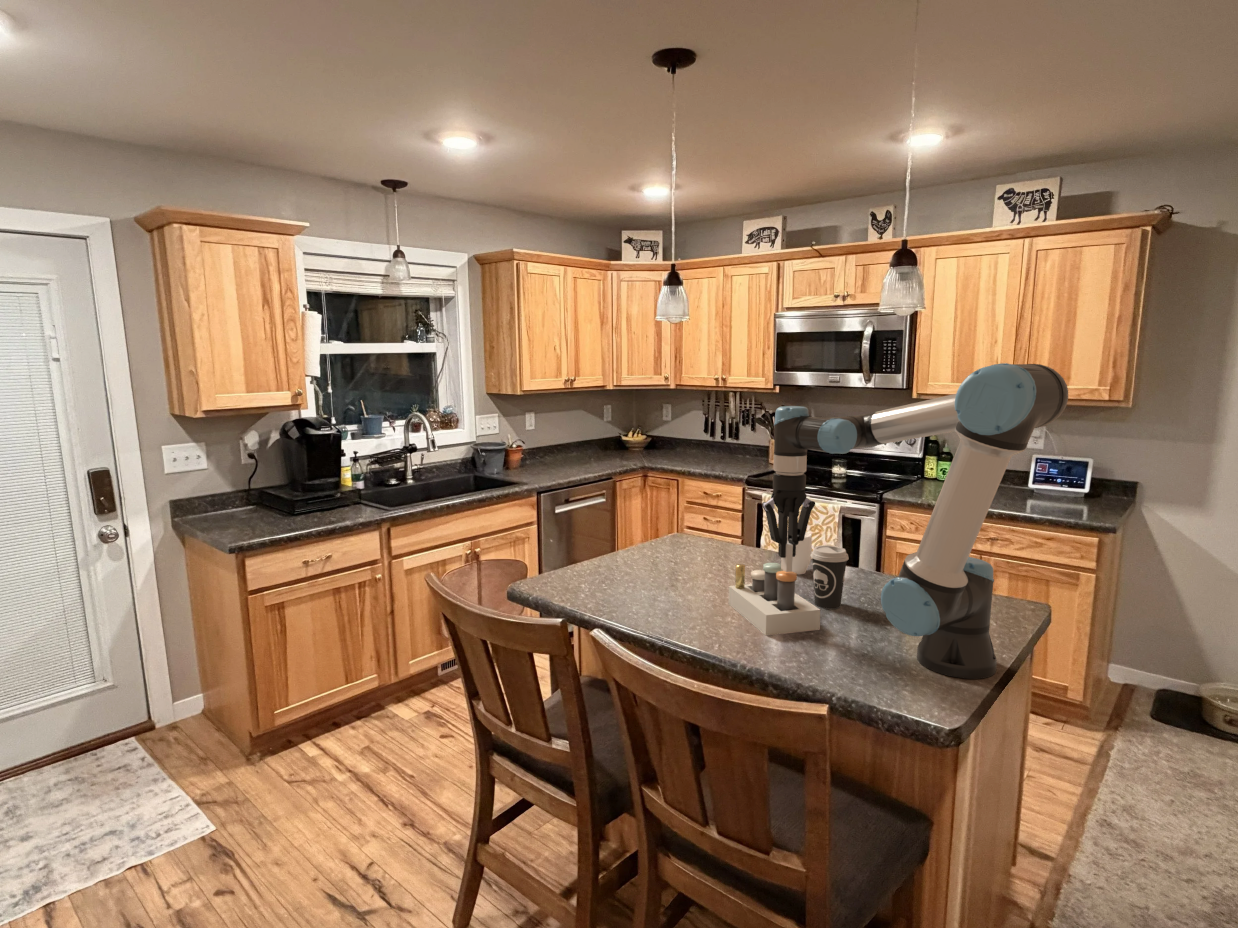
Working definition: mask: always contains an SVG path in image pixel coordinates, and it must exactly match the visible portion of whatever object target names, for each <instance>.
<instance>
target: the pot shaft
mask: <svg viewBox="0 0 1238 928" xmlns="http://www.w3.org/2000/svg"><path fill="white" fill-rule="evenodd" d="M745 578H746V564H742V563H737V564H735V578H734V579H735V581H734V585H735V588H737V589H744V588H745V584H746V583H745V582H746V581H745Z"/></svg>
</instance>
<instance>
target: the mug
mask: <svg viewBox="0 0 1238 928" xmlns="http://www.w3.org/2000/svg"><path fill="white" fill-rule="evenodd" d="M787 542H788V543H789V541H788V531H787ZM812 542H813V539H812V533H810V532H808V531H806V533H805V537H804V540H803V541H799V543H798V545H796V555H795V557H792V572H795V573H796V574H797V575H804V574H806V572H807V570H808V567H809V565H810V563H811V561H812V557H811V556H810V555H811V553H812V551H813V546H812V544H813V543H812Z"/></svg>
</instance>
